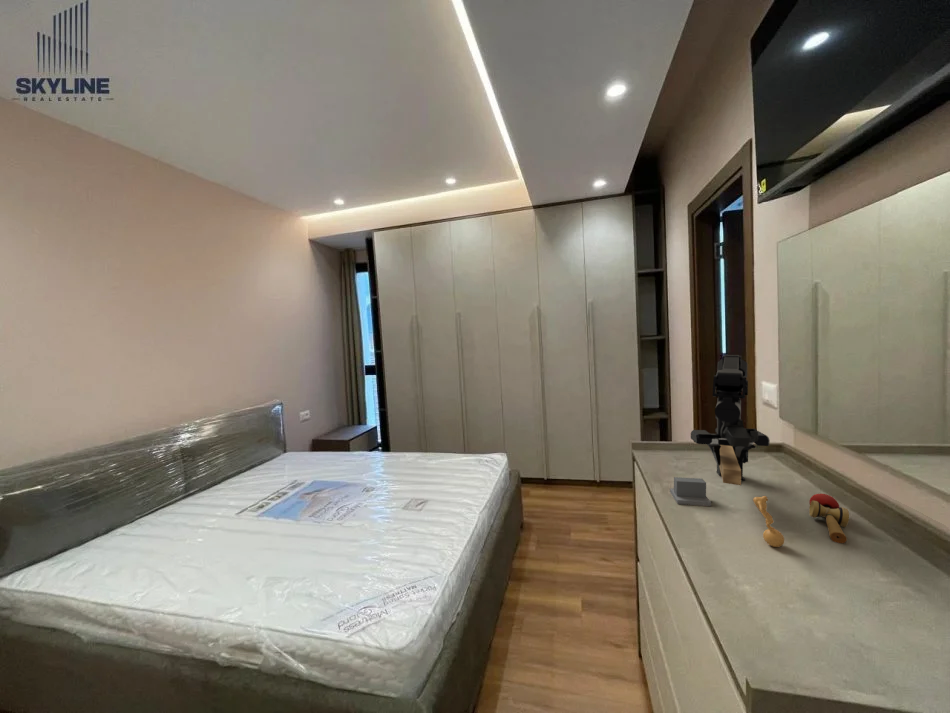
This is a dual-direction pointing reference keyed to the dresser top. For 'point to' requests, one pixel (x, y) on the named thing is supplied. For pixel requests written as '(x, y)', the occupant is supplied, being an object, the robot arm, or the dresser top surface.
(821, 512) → the kendama
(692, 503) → the grey stepped block
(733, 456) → the plank
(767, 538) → the figurine
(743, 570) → the dresser top surface
